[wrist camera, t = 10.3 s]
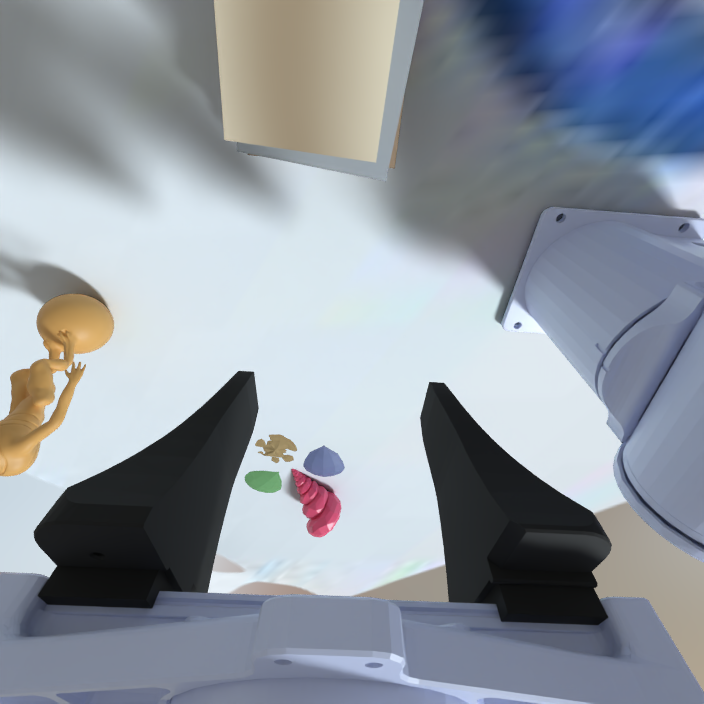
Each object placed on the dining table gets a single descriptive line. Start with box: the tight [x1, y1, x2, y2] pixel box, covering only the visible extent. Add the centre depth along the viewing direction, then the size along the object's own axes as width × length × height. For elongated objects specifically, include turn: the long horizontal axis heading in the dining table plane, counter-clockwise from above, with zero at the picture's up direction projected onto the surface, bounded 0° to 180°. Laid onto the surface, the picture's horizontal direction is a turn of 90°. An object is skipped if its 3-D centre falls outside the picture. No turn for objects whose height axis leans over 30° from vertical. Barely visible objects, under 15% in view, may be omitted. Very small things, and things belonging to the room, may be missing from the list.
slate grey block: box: [237, 0, 424, 181], centre depth 13 cm, size 6×6×3 cm
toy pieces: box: [245, 435, 344, 537], centre depth 33 cm, size 12×11×4 cm
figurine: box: [0, 294, 114, 476], centre depth 20 cm, size 8×6×12 cm
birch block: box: [214, 0, 400, 163], centre depth 10 cm, size 4×4×5 cm
